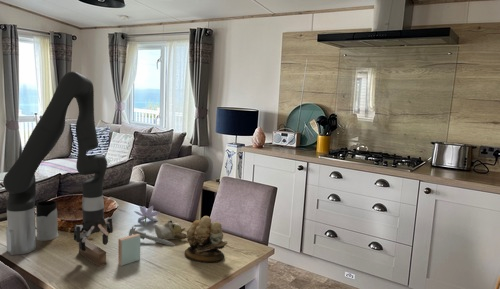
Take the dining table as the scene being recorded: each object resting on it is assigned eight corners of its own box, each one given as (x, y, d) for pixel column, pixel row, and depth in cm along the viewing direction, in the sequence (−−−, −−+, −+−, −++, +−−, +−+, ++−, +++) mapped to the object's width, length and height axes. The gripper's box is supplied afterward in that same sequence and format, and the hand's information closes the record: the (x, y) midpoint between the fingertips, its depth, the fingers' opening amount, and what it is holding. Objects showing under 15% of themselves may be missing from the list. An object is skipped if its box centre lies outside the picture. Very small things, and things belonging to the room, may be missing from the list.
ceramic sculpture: (153, 217, 166) (185, 216, 172) (151, 235, 167) (184, 233, 173) (157, 225, 157) (191, 224, 163) (155, 245, 158) (190, 243, 164)
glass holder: (51, 241, 156) (50, 206, 154) (18, 239, 156) (17, 204, 154) (62, 233, 165) (61, 200, 163) (31, 231, 165) (29, 198, 163)
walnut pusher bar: (98, 267, 137) (98, 254, 136) (78, 253, 147) (78, 241, 146) (106, 264, 139) (106, 251, 138) (86, 250, 149) (86, 239, 149)
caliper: (128, 241, 161) (128, 227, 160) (129, 240, 162) (129, 226, 161) (174, 246, 158) (174, 232, 157) (175, 245, 159) (175, 231, 158)
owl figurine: (231, 254, 153) (233, 214, 150) (220, 266, 141) (222, 223, 139) (191, 246, 158) (193, 208, 156) (178, 258, 147) (179, 216, 145)
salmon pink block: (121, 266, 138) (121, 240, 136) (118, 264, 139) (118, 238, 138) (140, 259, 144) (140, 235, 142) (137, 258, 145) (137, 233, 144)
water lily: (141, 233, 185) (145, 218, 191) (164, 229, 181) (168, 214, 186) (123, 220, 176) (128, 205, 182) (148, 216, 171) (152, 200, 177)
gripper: (78, 213, 133) (80, 256, 136) (115, 205, 144) (116, 244, 146) (69, 208, 138) (71, 249, 141) (106, 201, 149) (106, 239, 151)
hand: (94, 247), depth 143 cm, fingers open, 8 cm apart
